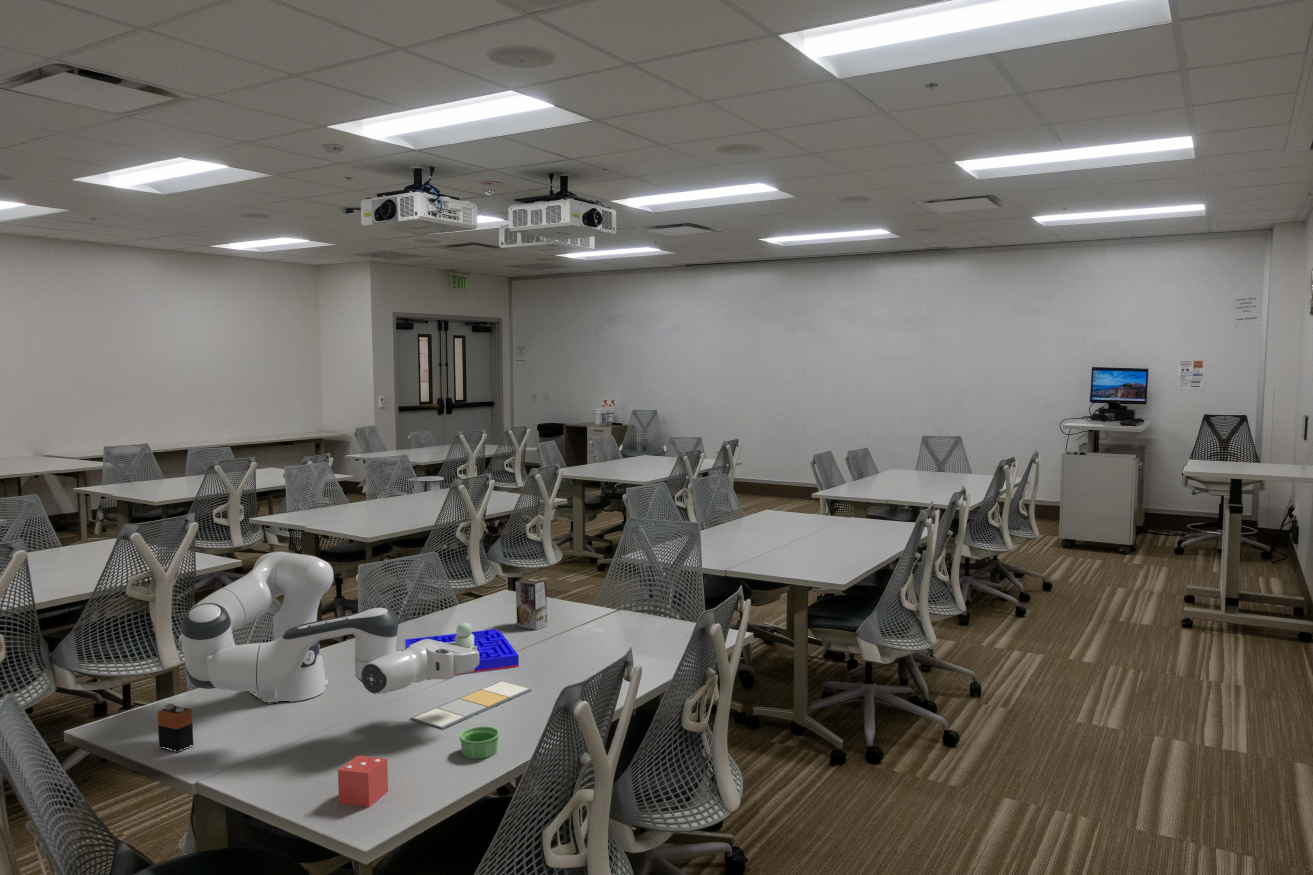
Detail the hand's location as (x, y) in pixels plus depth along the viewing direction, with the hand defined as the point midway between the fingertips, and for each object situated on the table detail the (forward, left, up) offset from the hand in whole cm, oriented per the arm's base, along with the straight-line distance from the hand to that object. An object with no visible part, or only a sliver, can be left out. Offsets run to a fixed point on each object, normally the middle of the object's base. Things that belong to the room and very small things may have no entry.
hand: (467, 646), depth 227 cm
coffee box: (-39, +67, -17) cm, 79 cm away
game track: (-2, +4, -17) cm, 17 cm away
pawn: (0, -1, -6) cm, 6 cm away
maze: (-34, +29, -18) cm, 48 cm away
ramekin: (+21, -16, -17) cm, 32 cm away
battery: (-41, -54, -17) cm, 70 cm away
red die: (+17, -45, -17) cm, 51 cm away
